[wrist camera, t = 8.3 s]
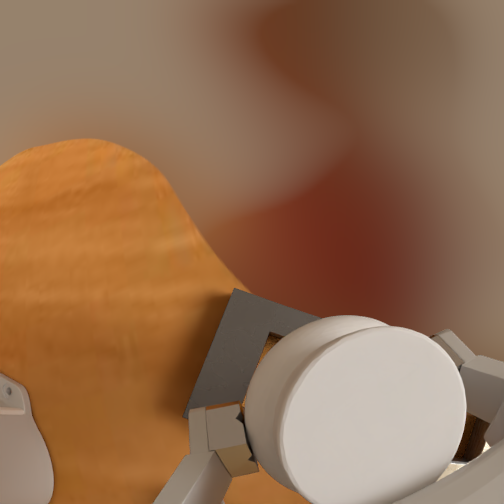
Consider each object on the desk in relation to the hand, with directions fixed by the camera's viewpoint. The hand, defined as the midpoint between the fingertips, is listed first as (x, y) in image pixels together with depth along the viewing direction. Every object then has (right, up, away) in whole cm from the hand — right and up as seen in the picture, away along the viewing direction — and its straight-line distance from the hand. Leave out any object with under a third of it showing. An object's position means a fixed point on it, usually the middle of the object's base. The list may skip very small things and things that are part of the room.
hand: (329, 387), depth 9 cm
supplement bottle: (0, -3, +5) cm, 6 cm away
